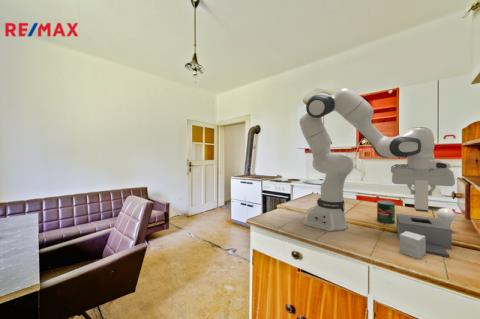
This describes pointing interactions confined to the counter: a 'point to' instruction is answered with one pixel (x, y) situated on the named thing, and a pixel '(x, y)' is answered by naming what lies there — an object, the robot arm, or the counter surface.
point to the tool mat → (436, 250)
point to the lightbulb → (446, 215)
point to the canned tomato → (386, 212)
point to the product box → (412, 244)
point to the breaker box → (426, 229)
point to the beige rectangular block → (421, 195)
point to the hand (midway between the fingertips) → (421, 194)
